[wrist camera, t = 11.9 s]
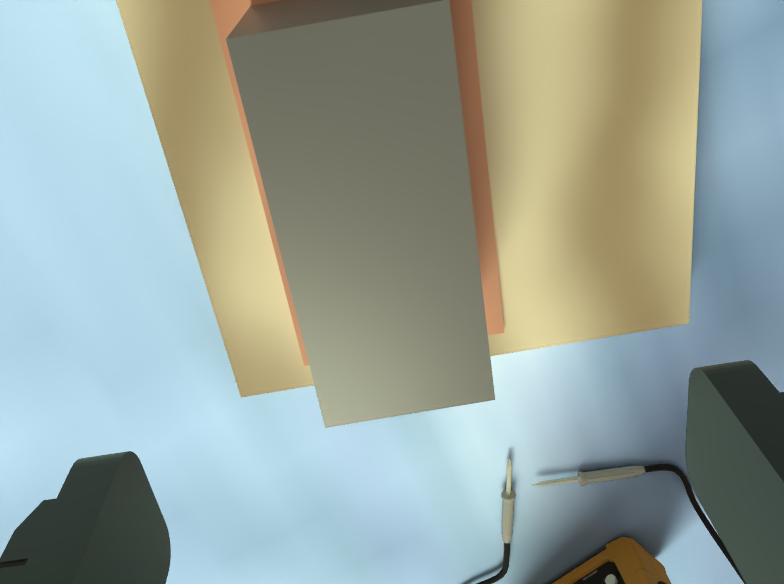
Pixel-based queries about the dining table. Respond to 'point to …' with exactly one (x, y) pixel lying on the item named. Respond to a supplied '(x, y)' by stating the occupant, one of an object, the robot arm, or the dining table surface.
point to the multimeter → (622, 556)
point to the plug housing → (369, 198)
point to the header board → (486, 169)
